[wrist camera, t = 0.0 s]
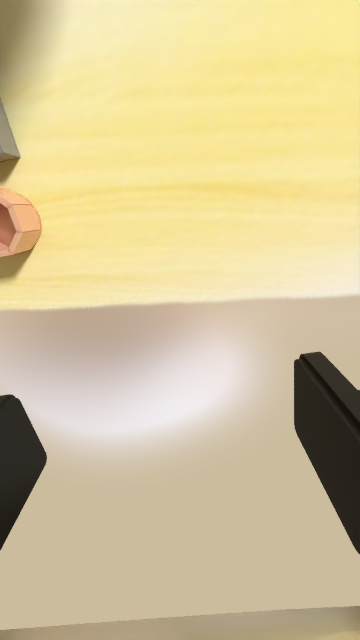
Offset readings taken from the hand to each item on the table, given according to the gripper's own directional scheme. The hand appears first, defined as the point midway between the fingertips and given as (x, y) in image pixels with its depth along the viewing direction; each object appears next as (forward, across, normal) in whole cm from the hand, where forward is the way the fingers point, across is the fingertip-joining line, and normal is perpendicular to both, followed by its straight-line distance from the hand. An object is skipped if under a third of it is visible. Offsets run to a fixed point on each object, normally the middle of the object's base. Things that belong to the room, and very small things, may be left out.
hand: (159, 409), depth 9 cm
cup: (+31, +21, -8) cm, 38 cm away
